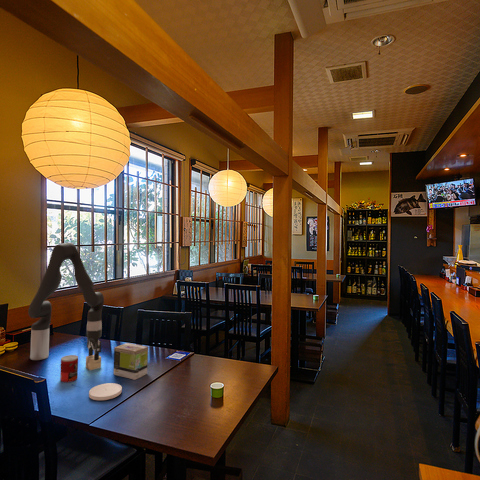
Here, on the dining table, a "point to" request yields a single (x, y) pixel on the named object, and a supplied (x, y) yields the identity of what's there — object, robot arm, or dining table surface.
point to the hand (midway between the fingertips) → (93, 357)
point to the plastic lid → (105, 391)
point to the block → (93, 362)
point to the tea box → (130, 360)
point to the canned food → (69, 368)
